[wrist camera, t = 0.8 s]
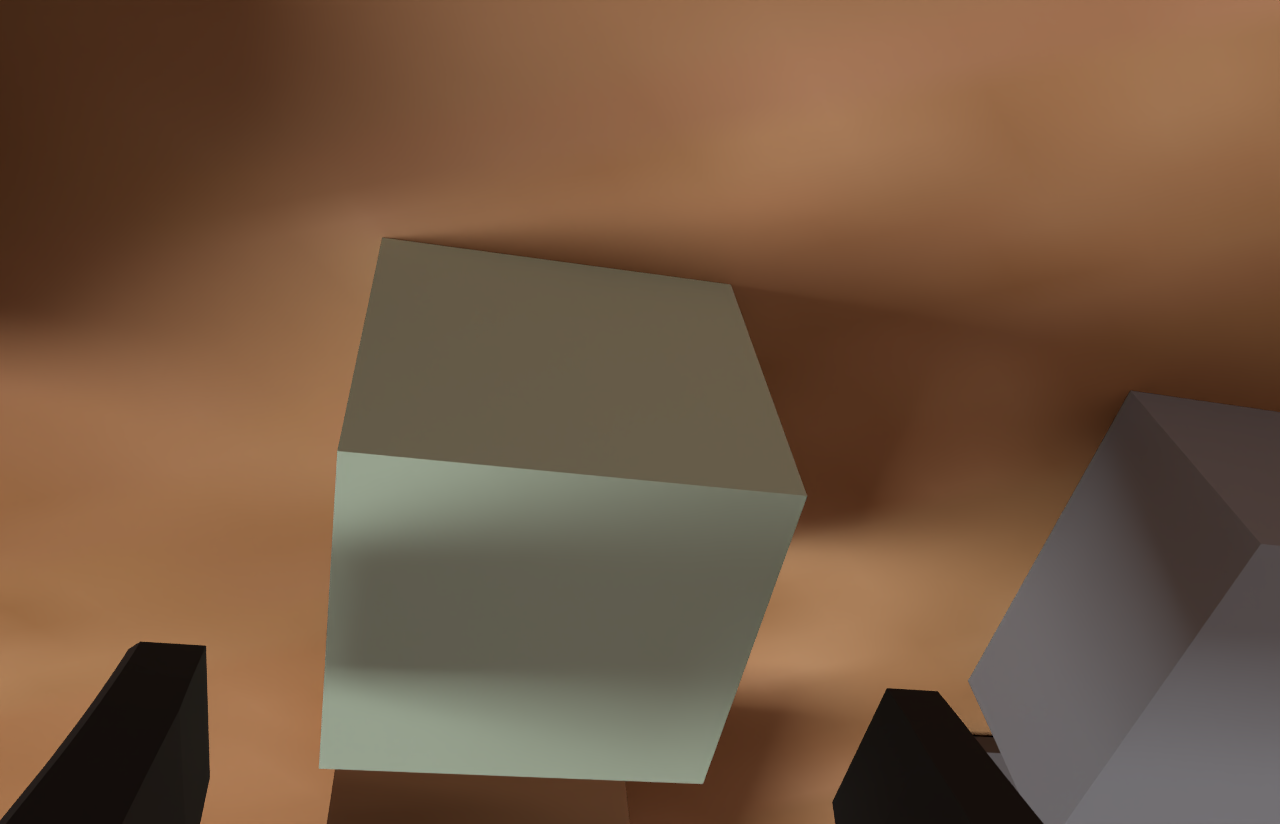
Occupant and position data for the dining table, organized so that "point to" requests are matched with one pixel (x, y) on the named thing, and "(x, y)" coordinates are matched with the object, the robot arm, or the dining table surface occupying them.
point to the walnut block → (473, 799)
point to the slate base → (1151, 629)
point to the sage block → (548, 521)
